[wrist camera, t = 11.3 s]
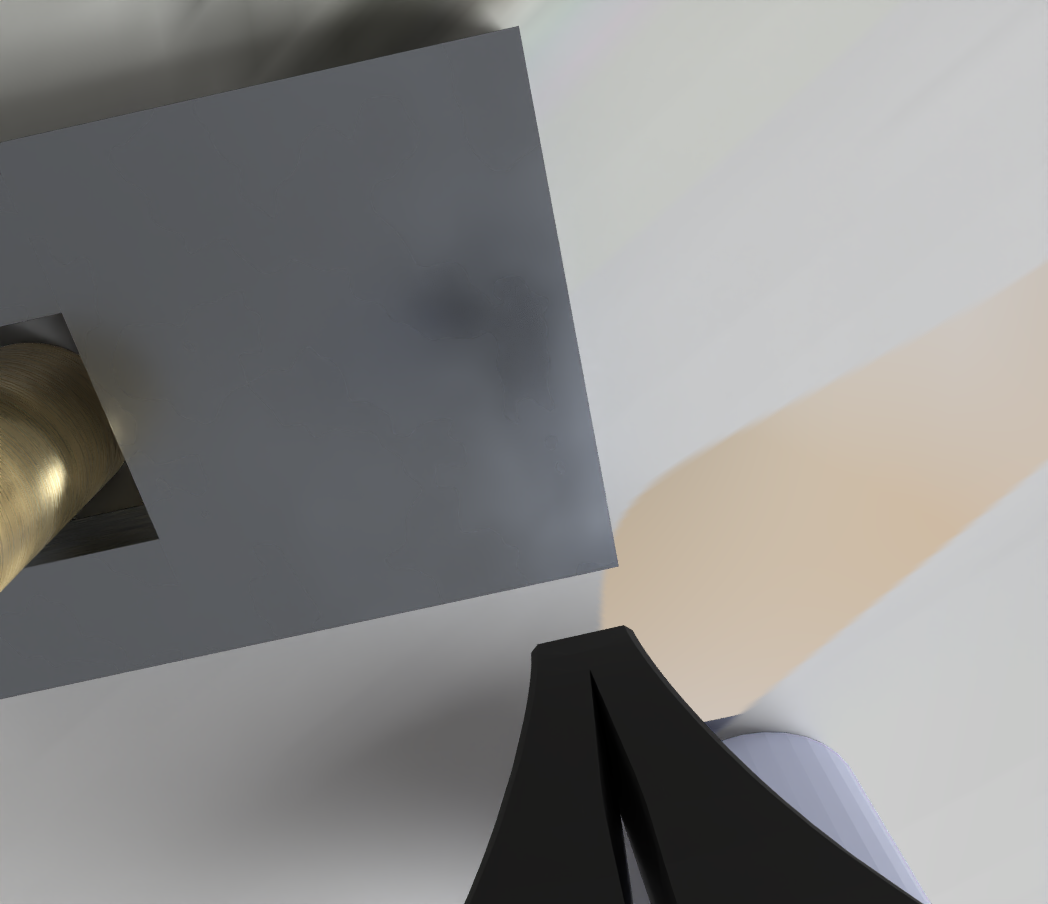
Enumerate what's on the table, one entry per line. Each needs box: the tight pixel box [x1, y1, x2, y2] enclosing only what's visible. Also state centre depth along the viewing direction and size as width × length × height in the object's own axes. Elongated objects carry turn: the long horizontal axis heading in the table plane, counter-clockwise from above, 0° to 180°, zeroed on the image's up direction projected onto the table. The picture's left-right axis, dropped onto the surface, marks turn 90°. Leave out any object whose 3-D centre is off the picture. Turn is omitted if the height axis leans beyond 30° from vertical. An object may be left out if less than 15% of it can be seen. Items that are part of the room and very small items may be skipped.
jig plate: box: [0, 26, 618, 699], centre depth 19 cm, size 12×18×2 cm, turn 102°
